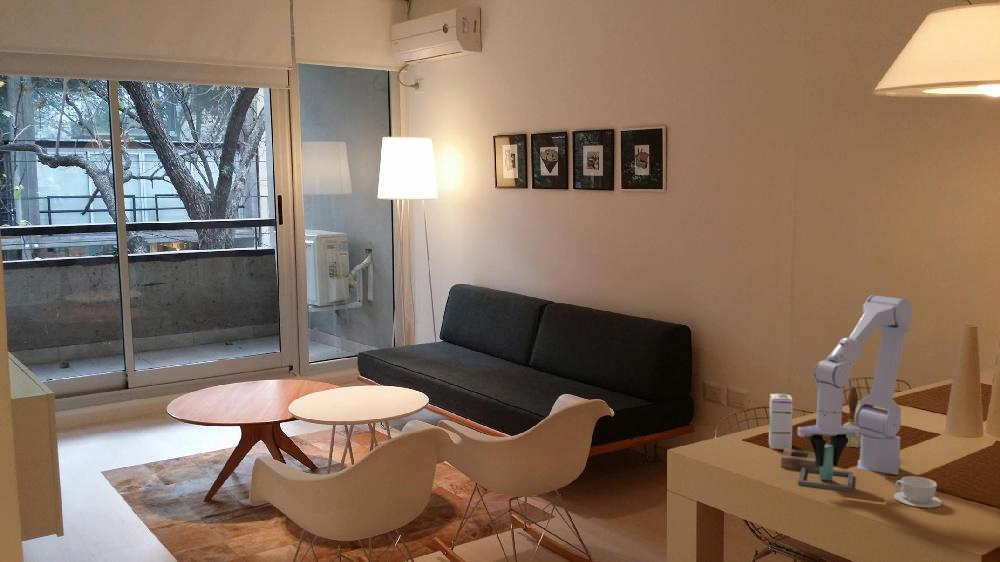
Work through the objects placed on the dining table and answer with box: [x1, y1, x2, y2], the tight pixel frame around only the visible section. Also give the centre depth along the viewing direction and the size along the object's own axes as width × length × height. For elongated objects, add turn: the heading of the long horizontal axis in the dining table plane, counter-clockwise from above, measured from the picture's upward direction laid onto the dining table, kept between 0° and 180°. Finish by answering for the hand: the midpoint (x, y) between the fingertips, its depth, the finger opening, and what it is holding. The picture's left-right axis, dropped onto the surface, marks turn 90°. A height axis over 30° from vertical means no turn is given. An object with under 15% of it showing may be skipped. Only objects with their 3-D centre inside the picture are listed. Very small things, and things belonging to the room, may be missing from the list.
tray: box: [797, 466, 854, 493], centre depth 216 cm, size 12×12×1 cm
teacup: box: [893, 475, 943, 508], centre depth 204 cm, size 10×10×5 cm
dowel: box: [819, 443, 834, 481], centre depth 216 cm, size 3×3×8 cm
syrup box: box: [768, 393, 794, 450], centre depth 242 cm, size 6×6×14 cm
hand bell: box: [842, 386, 861, 449], centre depth 246 cm, size 8×8×16 cm
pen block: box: [780, 448, 817, 470], centre depth 228 cm, size 8×8×3 cm
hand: (826, 464), depth 216 cm, fingers closed on dowel, 3 cm apart
